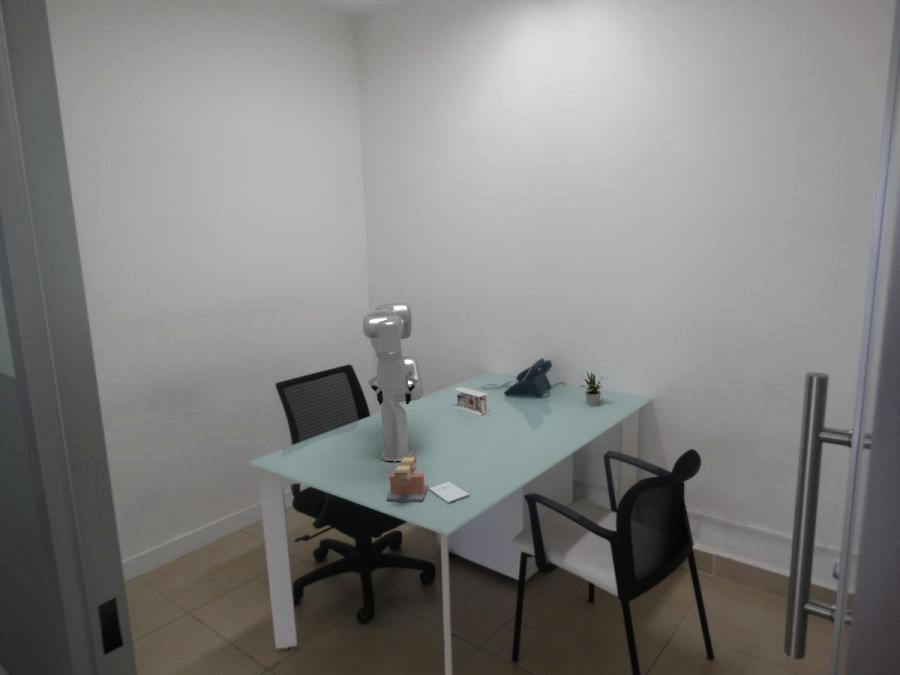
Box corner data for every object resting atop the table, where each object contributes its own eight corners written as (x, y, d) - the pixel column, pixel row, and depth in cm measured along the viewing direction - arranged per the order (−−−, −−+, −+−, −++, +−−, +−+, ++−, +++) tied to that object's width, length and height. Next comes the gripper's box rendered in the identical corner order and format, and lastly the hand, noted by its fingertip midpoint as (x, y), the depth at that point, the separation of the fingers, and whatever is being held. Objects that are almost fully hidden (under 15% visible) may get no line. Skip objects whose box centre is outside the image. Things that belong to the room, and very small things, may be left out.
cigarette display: (454, 407, 279) (452, 389, 277) (462, 405, 282) (461, 386, 280) (481, 416, 264) (480, 396, 262) (490, 413, 267) (489, 394, 265)
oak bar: (405, 466, 195) (404, 455, 194) (416, 466, 195) (416, 455, 194) (395, 484, 182) (394, 472, 181) (407, 484, 181) (406, 472, 180)
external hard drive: (448, 506, 181) (429, 492, 192) (469, 498, 185) (449, 485, 196) (448, 501, 181) (428, 487, 191) (469, 494, 185) (449, 480, 195)
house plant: (570, 402, 276) (569, 369, 273) (595, 398, 280) (595, 366, 277) (585, 410, 262) (585, 376, 259) (611, 406, 266) (611, 372, 263)
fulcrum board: (394, 487, 195) (392, 468, 194) (428, 488, 193) (427, 469, 192) (386, 501, 186) (385, 481, 184) (422, 502, 184) (421, 482, 182)
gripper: (363, 358, 192) (367, 406, 195) (413, 358, 189) (416, 407, 193) (369, 353, 199) (373, 399, 203) (417, 352, 196) (421, 399, 200)
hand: (394, 403), depth 198 cm, fingers open, 9 cm apart
